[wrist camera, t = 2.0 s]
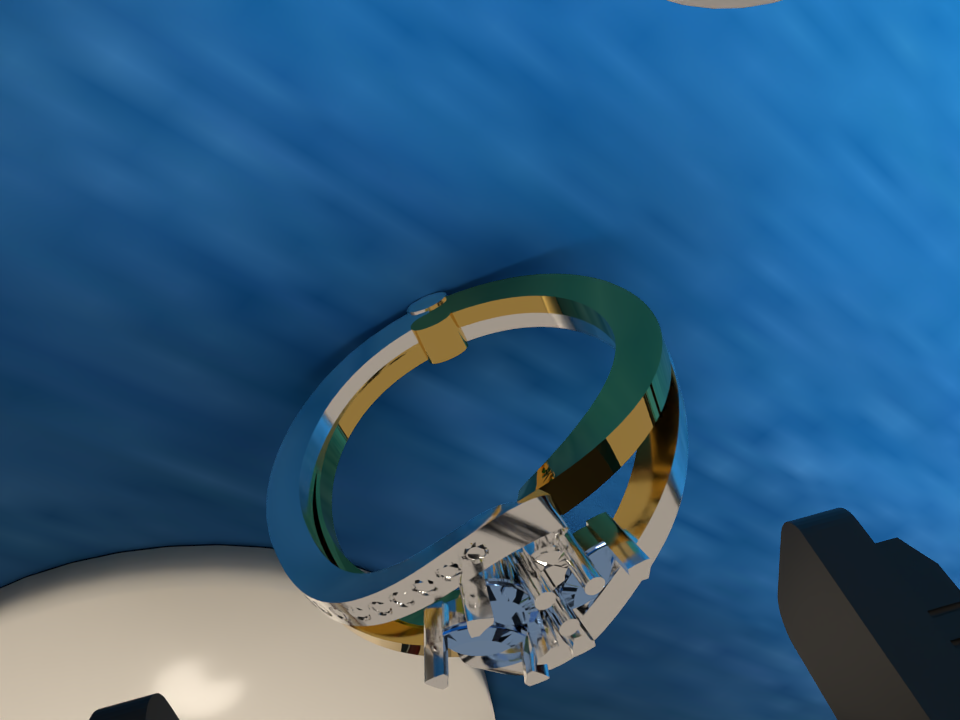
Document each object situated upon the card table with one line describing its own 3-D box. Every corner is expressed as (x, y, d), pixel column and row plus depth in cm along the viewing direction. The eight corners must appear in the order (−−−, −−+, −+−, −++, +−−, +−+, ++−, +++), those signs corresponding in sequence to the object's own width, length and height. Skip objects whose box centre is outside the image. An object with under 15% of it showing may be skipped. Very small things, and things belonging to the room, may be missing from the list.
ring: (571, 171, 16) (768, 457, 10) (618, 302, 18) (807, 614, 12) (232, 323, 17) (206, 692, 10) (312, 436, 19) (333, 806, 12)
